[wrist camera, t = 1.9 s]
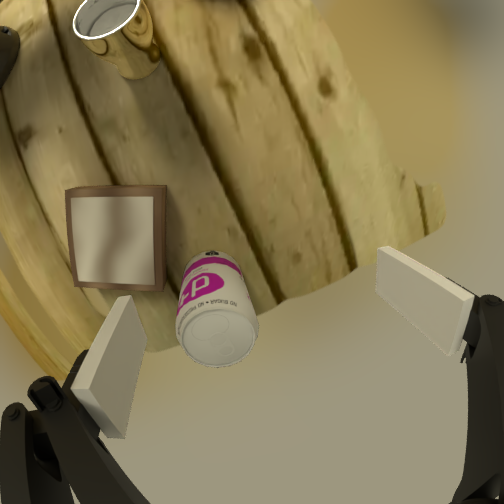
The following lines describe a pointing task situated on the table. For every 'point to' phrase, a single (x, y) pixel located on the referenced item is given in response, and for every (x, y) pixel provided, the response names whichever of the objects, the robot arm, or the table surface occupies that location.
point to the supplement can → (215, 311)
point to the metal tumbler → (119, 35)
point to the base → (117, 236)
